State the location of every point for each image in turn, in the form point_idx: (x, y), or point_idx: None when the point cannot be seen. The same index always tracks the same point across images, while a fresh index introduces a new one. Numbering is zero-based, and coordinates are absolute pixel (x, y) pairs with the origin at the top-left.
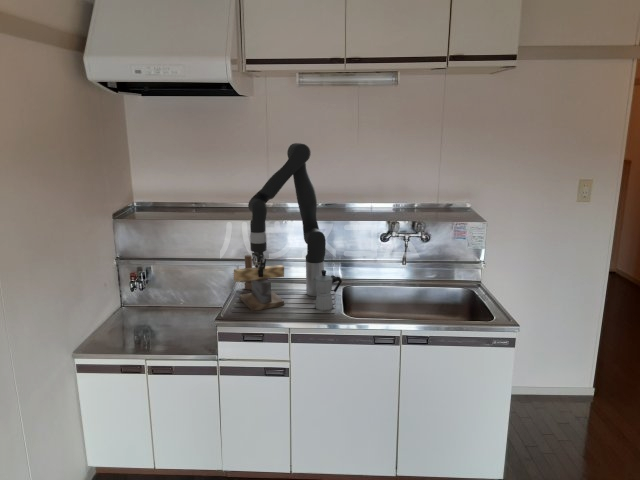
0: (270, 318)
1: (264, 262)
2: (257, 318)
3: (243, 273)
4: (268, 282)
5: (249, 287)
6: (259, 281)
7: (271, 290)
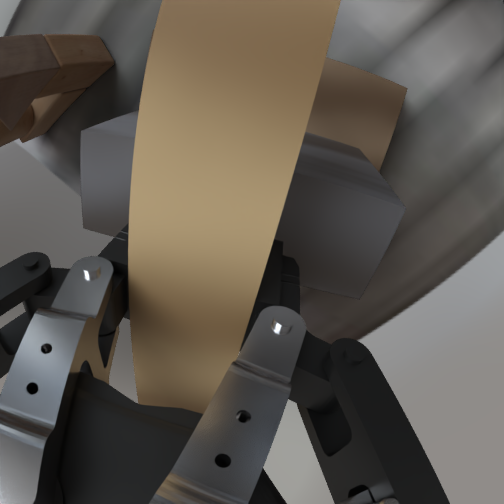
0: (456, 249)
1: (418, 483)
2: (412, 284)
3: None
4: (394, 230)
5: (52, 119)
6: (305, 278)
7: None
